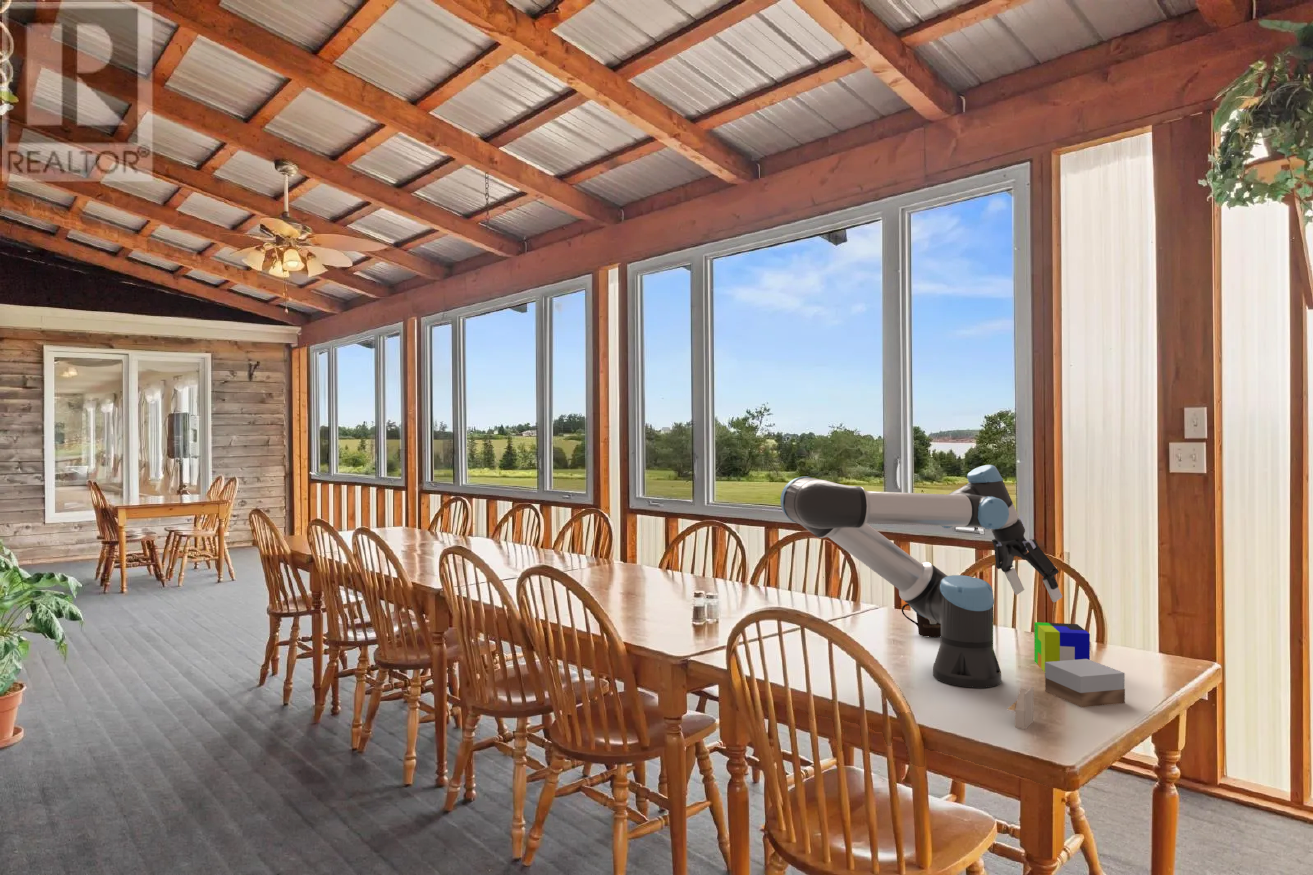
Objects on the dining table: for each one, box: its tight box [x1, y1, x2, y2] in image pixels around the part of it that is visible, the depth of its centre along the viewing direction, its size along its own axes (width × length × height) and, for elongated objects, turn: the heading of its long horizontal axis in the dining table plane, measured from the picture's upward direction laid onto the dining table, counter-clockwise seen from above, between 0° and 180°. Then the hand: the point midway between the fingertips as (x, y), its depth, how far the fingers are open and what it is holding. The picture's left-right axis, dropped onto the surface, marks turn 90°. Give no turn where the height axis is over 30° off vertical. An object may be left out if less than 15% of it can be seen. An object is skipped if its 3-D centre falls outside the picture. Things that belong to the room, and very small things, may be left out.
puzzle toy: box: [1033, 621, 1091, 673], centre depth 201 cm, size 10×10×10 cm
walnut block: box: [1044, 677, 1126, 708], centre depth 179 cm, size 11×11×4 cm
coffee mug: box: [901, 603, 941, 638], centre depth 235 cm, size 12×9×10 cm
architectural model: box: [1007, 686, 1035, 730], centre depth 164 cm, size 3×7×7 cm, turn 140°
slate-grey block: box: [1044, 659, 1126, 693], centre depth 179 cm, size 11×11×4 cm
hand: (1038, 595), depth 210 cm, fingers open, 13 cm apart
